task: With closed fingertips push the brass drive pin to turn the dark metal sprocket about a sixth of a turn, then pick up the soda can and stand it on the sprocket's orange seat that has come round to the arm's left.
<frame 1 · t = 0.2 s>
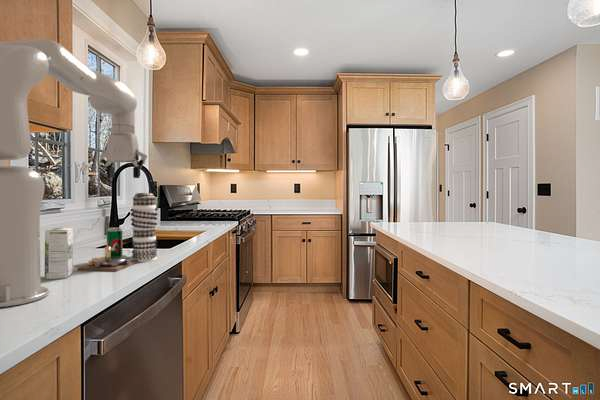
hand: (123, 177, 122), 31 cm above the worktop, tool pointing down, fingers open, 9 cm apart
syrup box: (59, 277, 99), on the worktop
soda can: (114, 260, 123), on the worktop
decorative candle: (144, 260, 124), on the worktop
base board: (109, 266, 113), on the worktop
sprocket: (111, 253, 114), point 4 cm above the worktop, hinge at 0.0°
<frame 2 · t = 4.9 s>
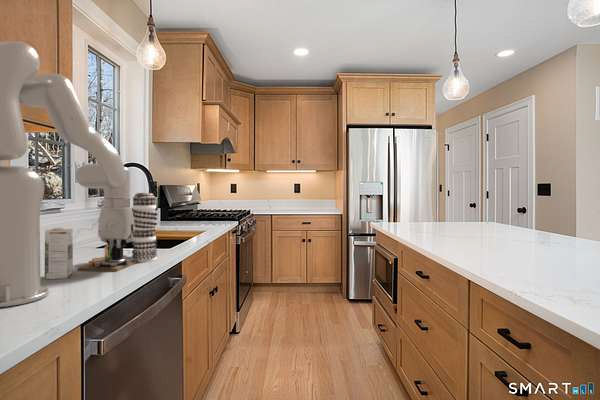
hand: (117, 259, 109), 3 cm above the worktop, tool pointing down, fingers closed
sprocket: (111, 253, 114), point 4 cm above the worktop, hinge at -1.5°, touching gripper
everything else where it was.
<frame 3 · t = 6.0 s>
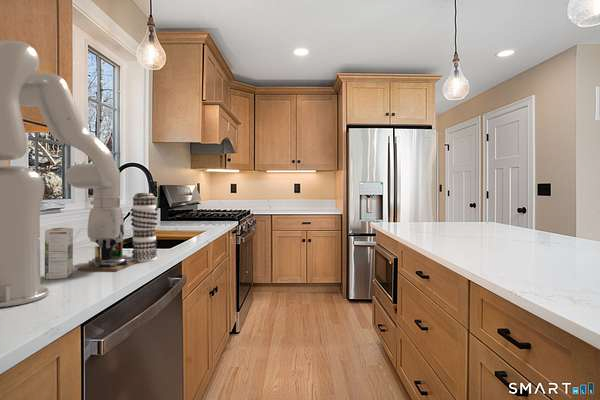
hand: (106, 259, 109), 3 cm above the worktop, tool pointing down, fingers closed
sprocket: (111, 253, 114), point 4 cm above the worktop, hinge at -47.2°, touching gripper
everything else where it was.
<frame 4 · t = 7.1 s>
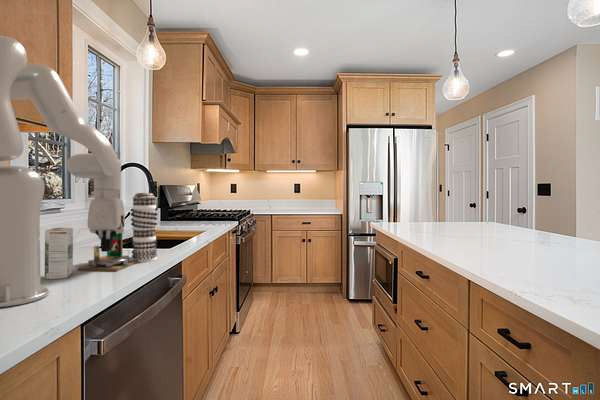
hand: (106, 250, 109), 6 cm above the worktop, tool pointing down, fingers closed
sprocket: (111, 253, 114), point 4 cm above the worktop, hinge at -56.8°
everything else where it was.
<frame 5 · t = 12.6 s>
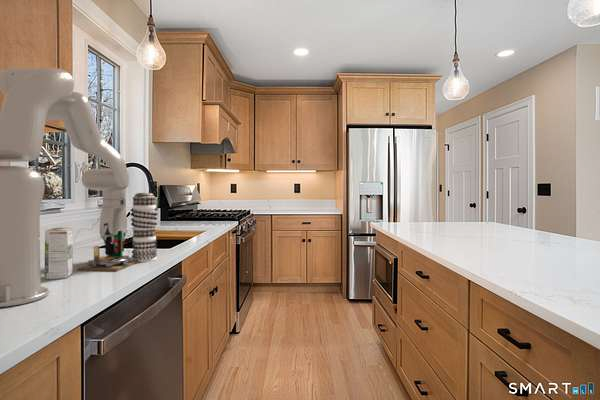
hand: (114, 252, 123), 3 cm above the worktop, tool pointing down, fingers closed on soda can, 4 cm apart
soda can: (114, 260, 123), on the worktop, touching gripper
everything else where it was.
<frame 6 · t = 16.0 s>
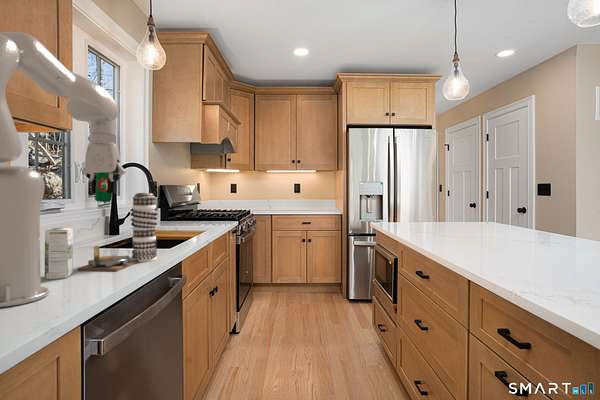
hand: (103, 192, 114), 25 cm above the worktop, tool pointing down, fingers closed on soda can, 5 cm apart
soda can: (103, 202, 114), point 22 cm above the worktop, touching gripper
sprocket: (111, 253, 114), point 4 cm above the worktop, hinge at -57.3°
everything else where it was.
when the fingers open (7 cm above the worktop, at t = 19.5 s): soda can drops 1 cm, resting on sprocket.
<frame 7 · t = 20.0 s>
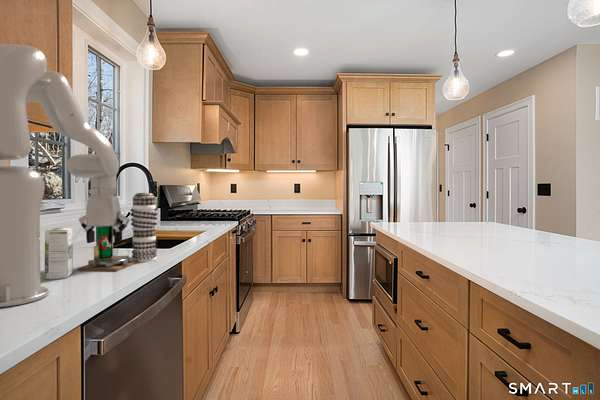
hand: (104, 242, 115), 8 cm above the worktop, tool pointing down, fingers open, 9 cm apart
soda can: (104, 258, 115), point 2 cm above the worktop, touching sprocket
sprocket: (111, 253, 114), point 4 cm above the worktop, hinge at -57.3°, touching soda can
everything else where it was.
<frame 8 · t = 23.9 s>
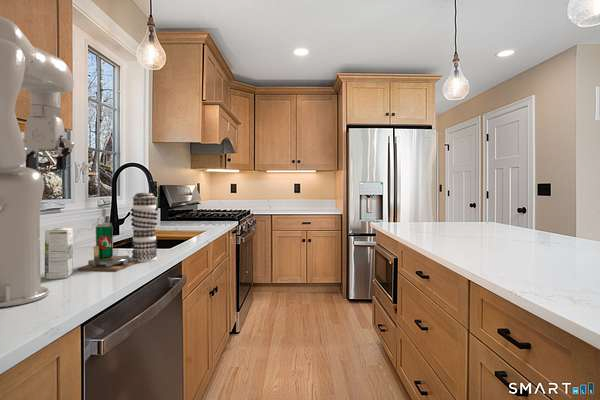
hand: (46, 169, 103), 32 cm above the worktop, tool pointing down, fingers open, 9 cm apart
nothing on the worktop moved.
at the end: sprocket at -57° (first picture: +0°); soda can 0.3 cm from the target spot, point 2.3 cm above the worktop; soda can tilted 0° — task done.
